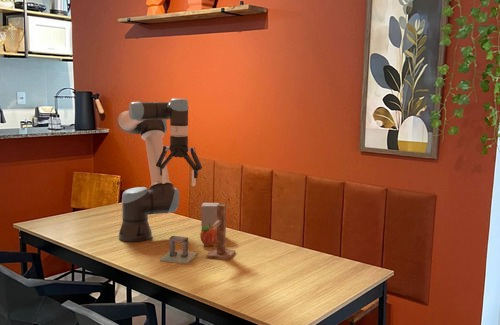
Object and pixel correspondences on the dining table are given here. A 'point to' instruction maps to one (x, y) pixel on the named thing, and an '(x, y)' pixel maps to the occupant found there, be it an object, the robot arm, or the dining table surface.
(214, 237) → the fruit
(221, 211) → the stand
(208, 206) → the skincare box
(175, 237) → the c link
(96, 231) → the dining table surface
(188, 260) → the coaster
